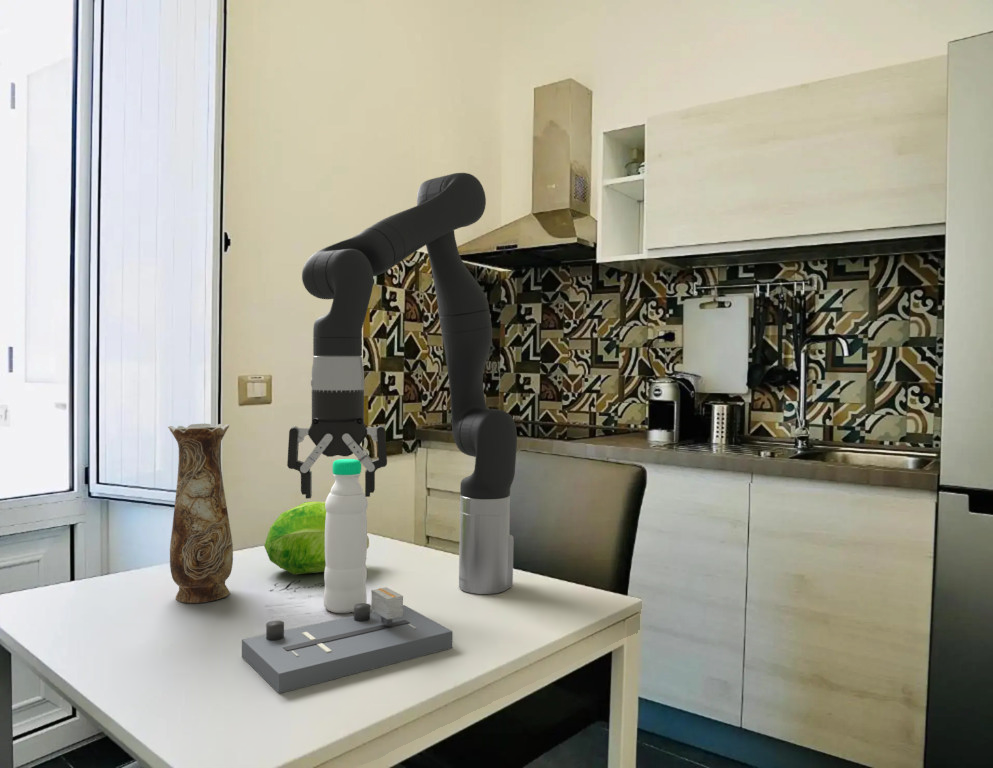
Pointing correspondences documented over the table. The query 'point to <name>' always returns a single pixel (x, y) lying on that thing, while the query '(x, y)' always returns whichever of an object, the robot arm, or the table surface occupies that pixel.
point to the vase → (200, 517)
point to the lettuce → (299, 539)
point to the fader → (387, 604)
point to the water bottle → (345, 539)
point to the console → (341, 647)
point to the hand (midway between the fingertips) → (338, 496)
